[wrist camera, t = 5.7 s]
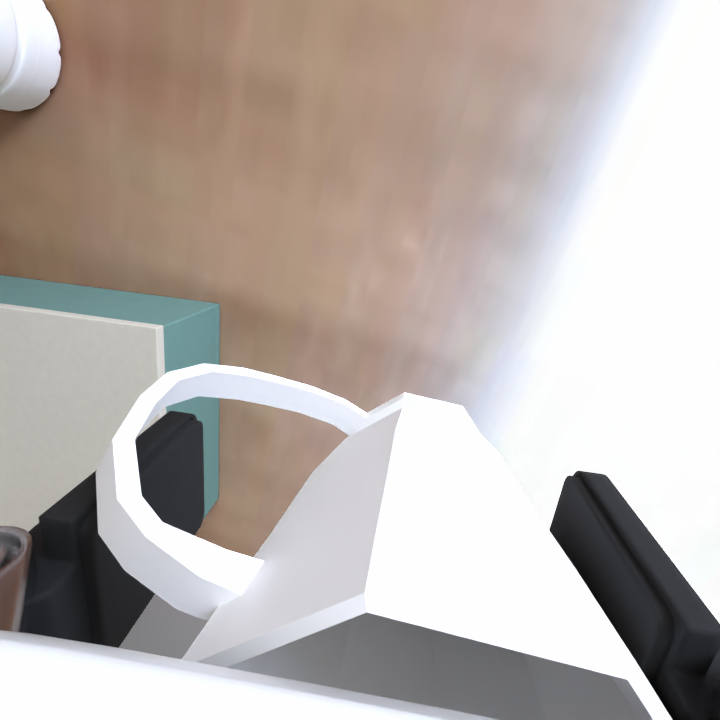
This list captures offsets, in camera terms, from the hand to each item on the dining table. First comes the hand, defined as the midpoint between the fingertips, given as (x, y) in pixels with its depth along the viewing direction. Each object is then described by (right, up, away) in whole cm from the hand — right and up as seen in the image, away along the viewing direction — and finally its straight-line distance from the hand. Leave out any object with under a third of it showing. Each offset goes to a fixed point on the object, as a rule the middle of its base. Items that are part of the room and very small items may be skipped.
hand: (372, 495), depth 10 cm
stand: (-18, +1, +19) cm, 26 cm away
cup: (0, +1, +3) cm, 3 cm away
